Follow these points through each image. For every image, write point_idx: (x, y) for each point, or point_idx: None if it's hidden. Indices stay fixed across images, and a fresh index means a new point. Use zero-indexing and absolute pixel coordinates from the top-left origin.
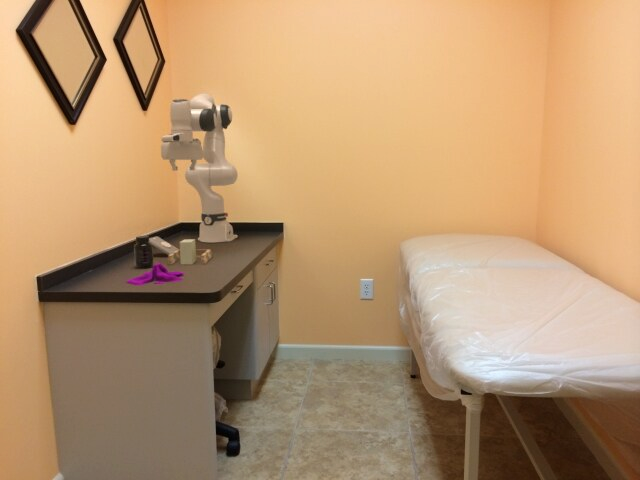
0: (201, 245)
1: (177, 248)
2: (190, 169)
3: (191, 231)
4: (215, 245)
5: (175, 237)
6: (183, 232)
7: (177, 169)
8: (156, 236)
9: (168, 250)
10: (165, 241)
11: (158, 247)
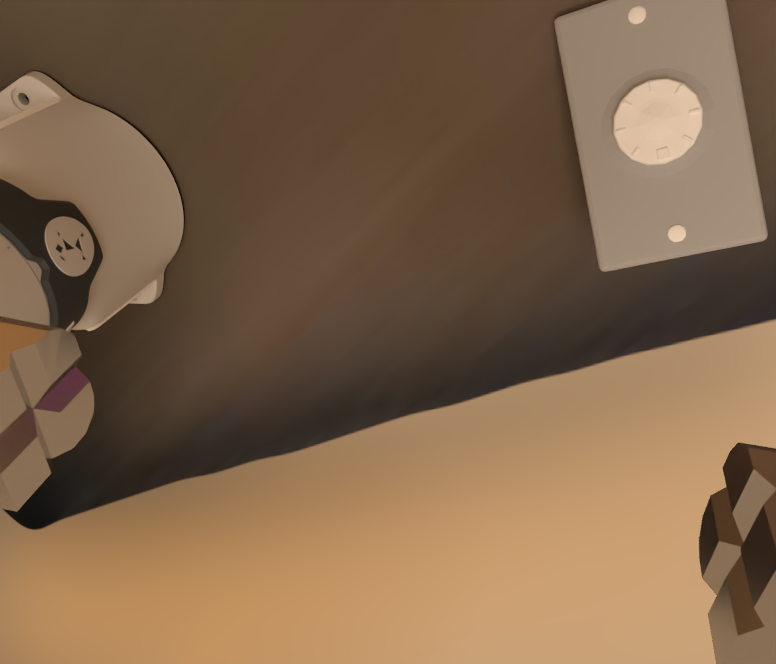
0: (251, 152)
1: (569, 74)
2: (74, 399)
3: None
4: (192, 60)
5: (188, 446)
6: (82, 492)
7: (764, 455)
8: (614, 265)
9: (703, 46)
10: (594, 184)
11: (746, 117)
